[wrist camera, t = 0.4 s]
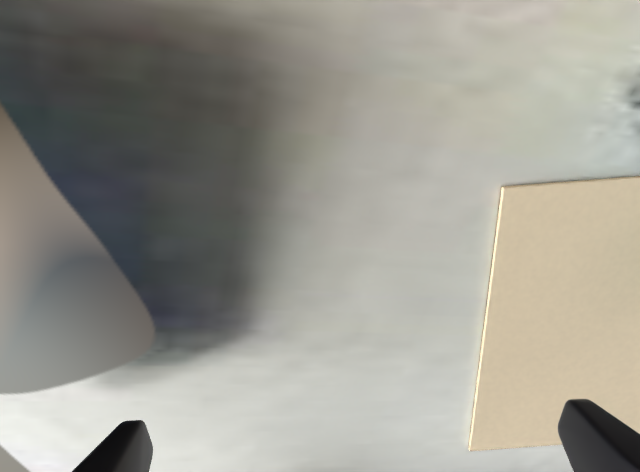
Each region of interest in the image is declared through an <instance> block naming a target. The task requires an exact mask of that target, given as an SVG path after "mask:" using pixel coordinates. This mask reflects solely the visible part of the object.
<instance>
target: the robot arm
mask: <svg viewBox="0 0 640 472" xmlns="http://www.w3.org/2000/svg"><path fill="white" fill-rule="evenodd" d="M558 434H559V437H560V439H561V442H562V444H563V447H564V449H565V451H566V454H567V456H568V459H569V461H570V463H571V466H572V468H573V470H574V472H640V434H639V433H638V432H636V431H635V430H633V429H632V428H630V427H629V426H627V425H626V424H624V423H623V422H622V421H620V420H619V419H617V418H616V417H614V416H613V415H611V414H610V413H608V412H607V411H606V410H604V409H603V408H601V407H600V406H598V405H597V404H595V403H594V402H592V401H591V400H588V399H570V400H568V401H566V403H565V405H564V408H563V411H562V414H561V417H560V419H559V422H558ZM152 455H153V446H152V442H151V439H150V436H149V433H148V431H147V428H146V425H145V423H144V422H143V421H141V420H136V421H124V422H122V423H121V424H120V425H118V426H117V427H116V428H115V429H114V430H113V431H112V432H111V433H110V434H109V435H108V436H107V437H106V438H105V439H104V440H103V441H102V442H101V443H100V444H99V445H98V446H97V447H96V448H95V449H94V450H93V451H92V452H91V453H90V454H89V455H88V456H87V457H86V458H85V459H84V460H83V461H82V462H81V463H80V464H79V465H78V466H77V467H76V468H75V469H74V470H73V471H72V472H149V469H150V464H151V460H152Z"/></svg>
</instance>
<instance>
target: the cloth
mask: <svg viewBox="0 0 640 472" xmlns="http://www.w3.org/2000/svg"><path fill="white" fill-rule="evenodd" d="M570 399H588V400H591V401H592V402H594V403H595V404H597V405H598V406H600V407H601V408H603V409H604V410H606V411H607V412H608V413H610V414H611V415H613V416H614V417H616V418H617V419H619V420H620V421H622V422H623V423H624V424H626V425H627V426H629V427H630V428H632V429H633V430H635V431H636V432H638V433H639V434H640V176H635V177H622V178H609V179H596V180H583V181H570V182H557V183H544V184H531V185H518V186H505V187H502V189H501V197H500V205H499V213H498V221H497V228H496V236H495V244H494V252H493V260H492V268H491V276H490V284H489V291H488V299H487V307H486V315H485V323H484V331H483V339H482V346H481V354H480V362H479V370H478V378H477V386H476V394H475V402H474V409H473V417H472V425H471V433H470V441H469V450H470V451H480V450H494V449H508V448H521V447H535V446H549V445H563V444H562V442H561V439H560V437H559V434H558V422H559V419H560V417H561V414H562V411H563V408H564V405H565V403H566V401H568V400H570Z"/></svg>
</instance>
